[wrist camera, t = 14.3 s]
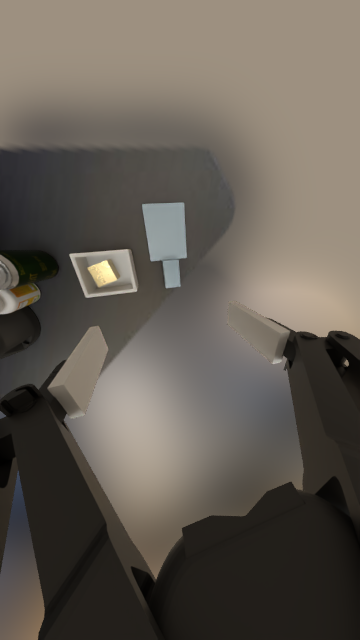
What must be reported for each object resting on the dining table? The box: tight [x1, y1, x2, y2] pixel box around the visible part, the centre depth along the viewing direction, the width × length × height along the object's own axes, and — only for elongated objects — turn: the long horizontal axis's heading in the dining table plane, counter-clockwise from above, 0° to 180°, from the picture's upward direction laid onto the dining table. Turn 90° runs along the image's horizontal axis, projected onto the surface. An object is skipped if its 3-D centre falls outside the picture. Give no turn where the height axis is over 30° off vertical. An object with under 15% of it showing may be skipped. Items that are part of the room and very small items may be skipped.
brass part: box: [87, 259, 120, 287], centre depth 30 cm, size 4×4×4 cm
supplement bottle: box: [0, 283, 41, 314], centre depth 27 cm, size 5×5×10 cm
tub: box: [69, 249, 139, 298], centre depth 30 cm, size 10×8×6 cm
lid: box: [142, 203, 187, 288], centre depth 32 cm, size 17×9×4 cm, turn 3°
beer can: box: [0, 250, 58, 290], centre depth 25 cm, size 5×5×12 cm
